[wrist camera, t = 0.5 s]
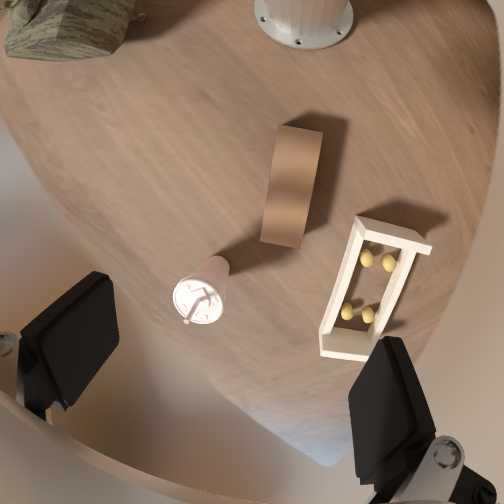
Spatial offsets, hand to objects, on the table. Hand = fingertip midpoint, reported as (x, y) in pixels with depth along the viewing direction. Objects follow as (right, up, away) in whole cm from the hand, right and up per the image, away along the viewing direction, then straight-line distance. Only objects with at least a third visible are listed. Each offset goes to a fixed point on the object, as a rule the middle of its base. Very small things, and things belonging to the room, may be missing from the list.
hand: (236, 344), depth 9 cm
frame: (+17, -2, +30) cm, 35 cm away
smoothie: (-5, +1, +33) cm, 33 cm away
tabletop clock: (-21, +36, +20) cm, 46 cm away
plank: (+5, +12, +26) cm, 29 cm away
